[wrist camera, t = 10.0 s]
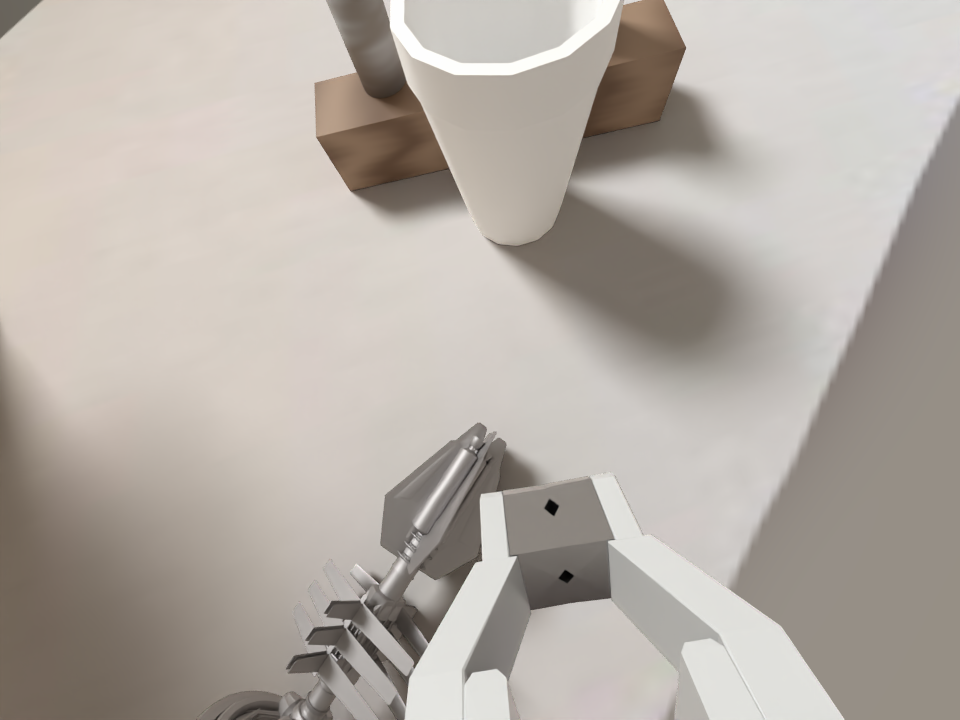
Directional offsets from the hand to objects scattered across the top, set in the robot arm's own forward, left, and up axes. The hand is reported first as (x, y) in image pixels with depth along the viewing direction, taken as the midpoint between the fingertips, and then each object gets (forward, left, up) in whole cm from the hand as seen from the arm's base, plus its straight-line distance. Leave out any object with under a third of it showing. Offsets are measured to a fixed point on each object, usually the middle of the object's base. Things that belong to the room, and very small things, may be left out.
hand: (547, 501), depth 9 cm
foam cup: (+2, +19, -14) cm, 24 cm away
